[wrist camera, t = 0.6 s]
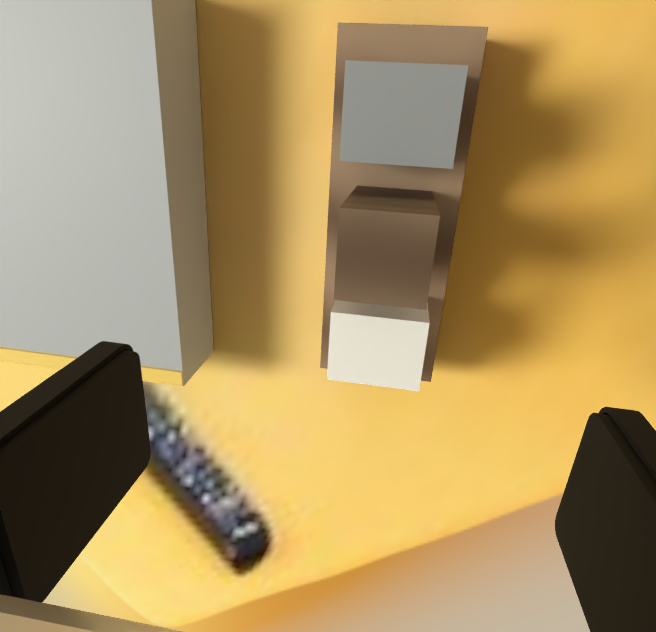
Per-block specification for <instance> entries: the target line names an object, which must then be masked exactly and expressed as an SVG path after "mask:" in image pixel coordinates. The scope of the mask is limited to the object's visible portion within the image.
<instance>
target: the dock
mask: <svg viewBox="0 0 656 632" xmlns="http://www.w3.org/2000/svg"><path fill="white" fill-rule="evenodd" d="M101 341H107V342H115V343H123V344H129V345H130V346H131V347H132V349H133V351H134V352H137V353H138V355H139V357H140V363H141V372H142V381H147V382H155V383H162V384H169V385H177V386H184V385H185V384H186V383H187V382H188V380H189V379H190V378H191V377H192V376H193V375H194V373H195V372H196V371H197V370H198V369H199V368H200V366H201V365H202V364H203V363H204V362H205V360H206V359H207V358H208V357H209V356H210V355H211V353H212V352H213V351H214V346H213V327H212V307H211V288H210V269H209V250H208V231H207V212H206V193H205V174H204V155H203V136H202V117H201V98H200V78H199V59H198V40H197V21H196V2H195V0H0V361H2V362H9V363H16V364H24V365H31V366H38V367H45V368H53V369H60V370H61V369H62V368H63V367H65V366H66V365H68V364H69V363H71V362H72V361H73V360H75V359H76V358H78V357H79V356H80V355H82V354H83V353H85V352H86V351H88V350H89V349H90V348H92V347H93V346H95V345H96V344H98V343H99V342H101Z"/></svg>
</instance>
